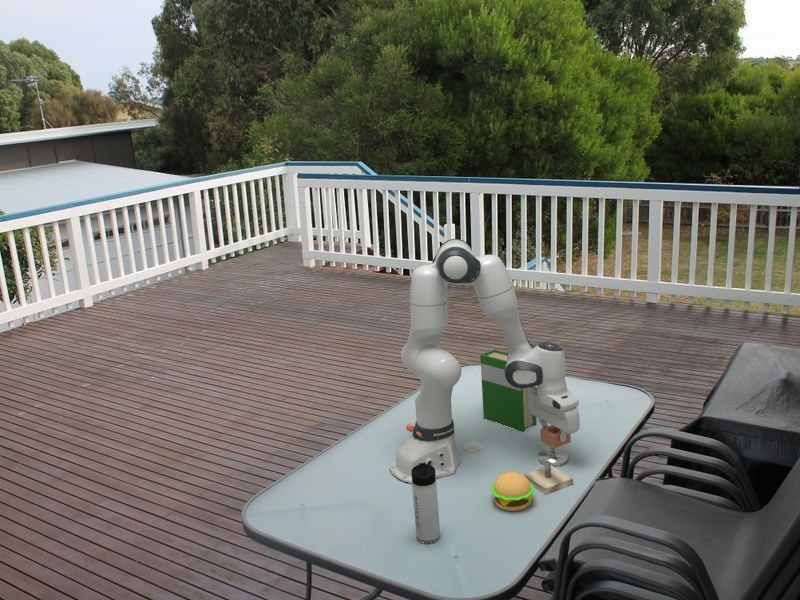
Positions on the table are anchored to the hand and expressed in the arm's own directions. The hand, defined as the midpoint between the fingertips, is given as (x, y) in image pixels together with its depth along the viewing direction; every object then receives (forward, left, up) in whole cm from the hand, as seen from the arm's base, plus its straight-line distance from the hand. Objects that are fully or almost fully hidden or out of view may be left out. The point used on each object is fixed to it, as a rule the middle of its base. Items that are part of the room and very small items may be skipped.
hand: (553, 436), depth 228 cm
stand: (-11, -10, -8) cm, 16 cm away
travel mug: (-54, -14, -8) cm, 56 cm away
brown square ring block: (+1, 0, -2) cm, 2 cm away
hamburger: (-26, -13, -8) cm, 30 cm away
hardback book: (+5, +31, -8) cm, 33 cm away
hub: (-1, 0, -8) cm, 8 cm away
